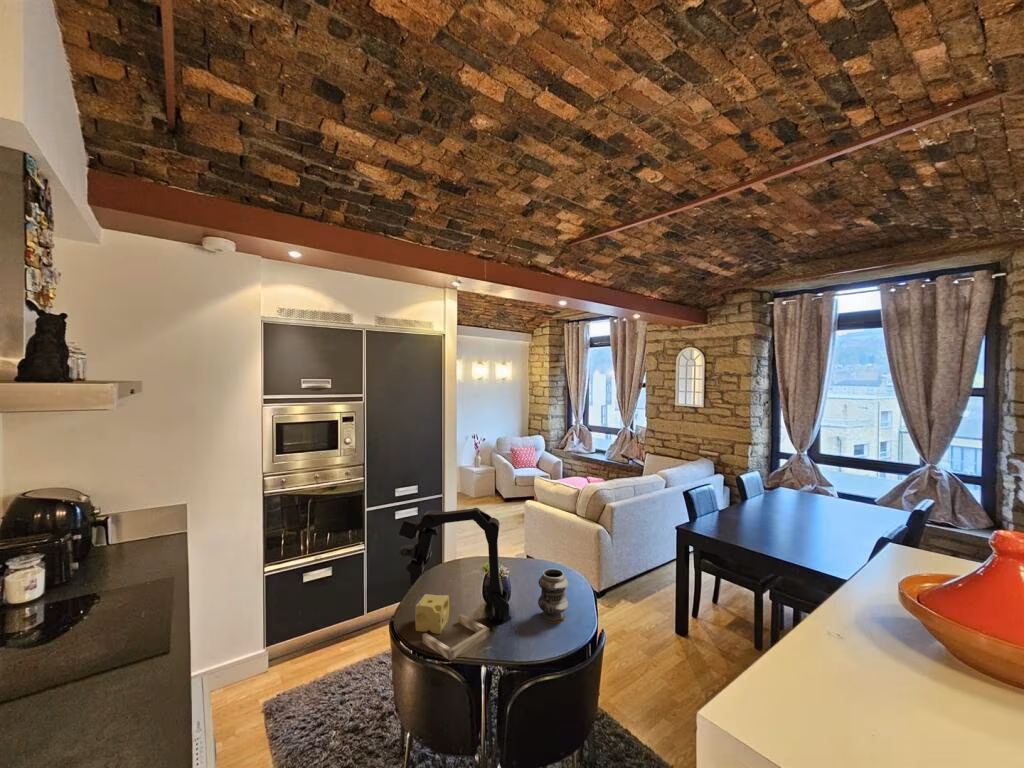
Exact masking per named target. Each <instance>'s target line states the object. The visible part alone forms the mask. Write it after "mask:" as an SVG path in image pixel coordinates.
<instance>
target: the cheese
mask: <svg viewBox="0 0 1024 768" xmlns="http://www.w3.org/2000/svg"><path fill="white" fill-rule="evenodd" d="M414 609H415V610H414V611H415V613H414V614H415V618H414V619H415V620H414V622H415V623H414V624H415V626H414V627H415V631H416V632H424V633H427V632H429V631H430V632H431V633H433V634H436V635H437V634H438V635H440V634H441V633H442V631H443V629H444V628H445V625H446V624H447V622H448V621H449V615H450V597H449V594H447V595H446V594H445V595H444V594H441V595H440V594H439V595H438V594H428V593H425V594H424V595H423V596H422V598H421V599H420V600H419V602H418V603H417V604H416V605H415V608H414Z"/></svg>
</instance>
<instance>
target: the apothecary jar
mask: <svg viewBox="0 0 1024 768" xmlns="http://www.w3.org/2000/svg"><path fill="white" fill-rule="evenodd" d="M568 585H569V582H568V579H567V578H566V576H565V574H564V572H563V570H561V569H559V568H552V567H551V568H547V569H544V570H543V571H542V575H541V576H540V577H539V579H538V586H539V587H540V588H541V595H540V596H539V598H538V600H537V604H538V608H540V610H541V611H542V612H541V614H540V618H541V620H543V622H545V623H549V624H560V623H561V622H564V621H565V619H566V615H565V614H564V612H565V611H566V610H567V609H568V607H569V602H568V599H567V597H566V596H565V595H566V589H567V587H568Z"/></svg>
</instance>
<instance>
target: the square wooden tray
mask: <svg viewBox="0 0 1024 768" xmlns="http://www.w3.org/2000/svg"><path fill="white" fill-rule="evenodd" d="M458 623H459V624H460V625H462V626H464V627H465V628H467V629H470V631H472V632H475V633H473V634H472V635H470V636H469V637H467V638H466V639H464V640H462V641H461V642H459V643H457V644H455V645H454V646H452V647H450V646H448V645H447V644H444V643H443V642H441V641H440V640H438V639H436V638H435V637H434V636H432V635H430V634H428V633H427V632H424V633H423V634H422V644H423V645H424V646H426V647H428V648H430V649H432V650H433V651H434V652H435V653H438V654H439V655H441V656H442V657H444V658H446V659H447V660H449V661H452V660H454V659H456V658H457V657H459V656H460V655H462V654H463V653H465V652H466V651H468V650H471V649H472V648H473V647H475V646H476V645H478V644H480V643H481V642H483V641H484V640H486V639H487V638H489V637H490V628H489V627H487V626H486V625H484V624H482V623H481V622H478V621H476V620H475V619H472V617H471V618H470V617H469V616H466V615H465V614H463V613H460V614H458Z"/></svg>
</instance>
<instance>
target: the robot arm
mask: <svg viewBox="0 0 1024 768" xmlns="http://www.w3.org/2000/svg"><path fill="white" fill-rule="evenodd" d="M465 521H466V522H467V521H473V522H475V523H476V524H477V526H478V527H479V528H481V530H483V531H484V535H485V539H486V542H487V545H488V546H487V548H488V565H489V578H487V579H486V582H485V589H486V593H485V596H486V597H487V599H488V601H489V602H491V604H492V605H491V616H489V620H491V621H493V622H495V623H497V624H499V625H503V624H504V623H506V622H508V621H509V620H511V619H512V616H511V615H509V614H510V604H509V602H508V601H509V600H508V599H509V593H508V592H507V591H506V589H504V588H503V587H504V586H503V582H502V579H501V578H502V577H500V576H501V575H500V564H499V547H498V546H499V543H498V540H499V533H500V532H499V531H500V526H501V525H500V524H501V523H500V521H499V519H497V518H495V517H492V516H491V515H490V514H488V513H486V512H485V511H482V510H481V509H480V508H478V507H473V508H465V509H458V510H457V509H456V510H450V511H449V510H448V511H443V510H438V509H430V510H427V511H426V512H425V514H424V515H423V516H422V518H421V519H419V520H418V521H417V522H415V521H411V520H409V519H404V520H403V522H402V524H401V526H400V527H401V528H400V530H399V532H398V537H399V538H400V537H401V538H403V539H408V540H414V538H416V539H417V540H416V543H415V544H404V545H401V547H400V548H399V556H400V558H405V557H410V558H411V560H409V561H408V562H407V564H406V568H405V570H406V571H407V572H408V573H409V574H410V575H409V577H410V579H409V581H410V582H409V583H410V586H414V585H415V583H416V582H417V581H418V579H419V578H420V577H421V575H422V574H423V572H424V569H425V566H426V565H427V563H428V562H429V560H430V559H431V556H432V553H433V551H432V548H431V547H432V541H433V536H438V535H439V533H440V531H439V529H438V528H437V527H439V526H441V525H444V524H447V523H448V524H449V523H457V522H465Z"/></svg>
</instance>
